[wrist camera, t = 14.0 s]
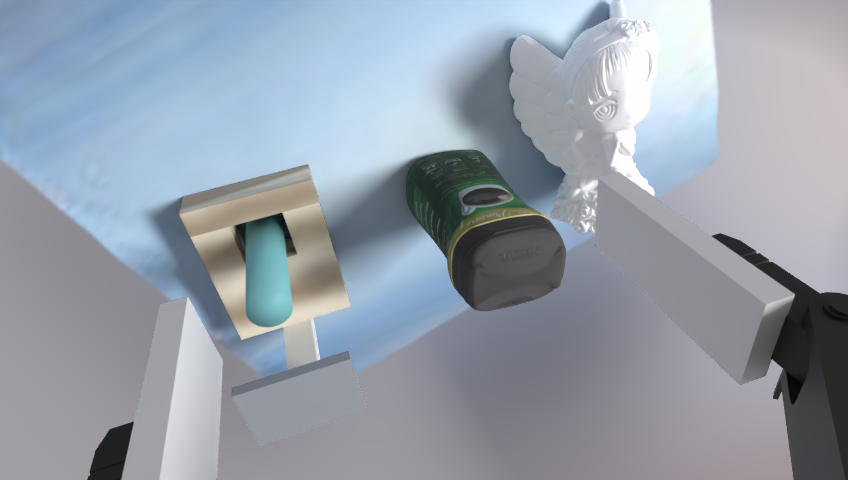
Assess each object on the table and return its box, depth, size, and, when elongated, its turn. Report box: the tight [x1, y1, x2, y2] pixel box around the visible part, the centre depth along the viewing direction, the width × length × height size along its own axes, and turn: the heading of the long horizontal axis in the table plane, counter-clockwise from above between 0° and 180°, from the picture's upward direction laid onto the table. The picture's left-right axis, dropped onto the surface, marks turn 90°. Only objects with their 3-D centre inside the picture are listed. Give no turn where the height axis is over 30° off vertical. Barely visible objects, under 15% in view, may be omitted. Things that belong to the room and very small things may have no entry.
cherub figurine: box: [509, 0, 661, 233], centre depth 50 cm, size 13×12×20 cm
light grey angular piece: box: [231, 318, 367, 446], centre depth 51 cm, size 7×10×16 cm
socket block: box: [179, 165, 351, 340], centre depth 52 cm, size 16×12×4 cm
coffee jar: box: [406, 150, 566, 311], centre depth 48 cm, size 10×8×19 cm
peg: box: [246, 213, 293, 327], centre depth 46 cm, size 4×4×14 cm
